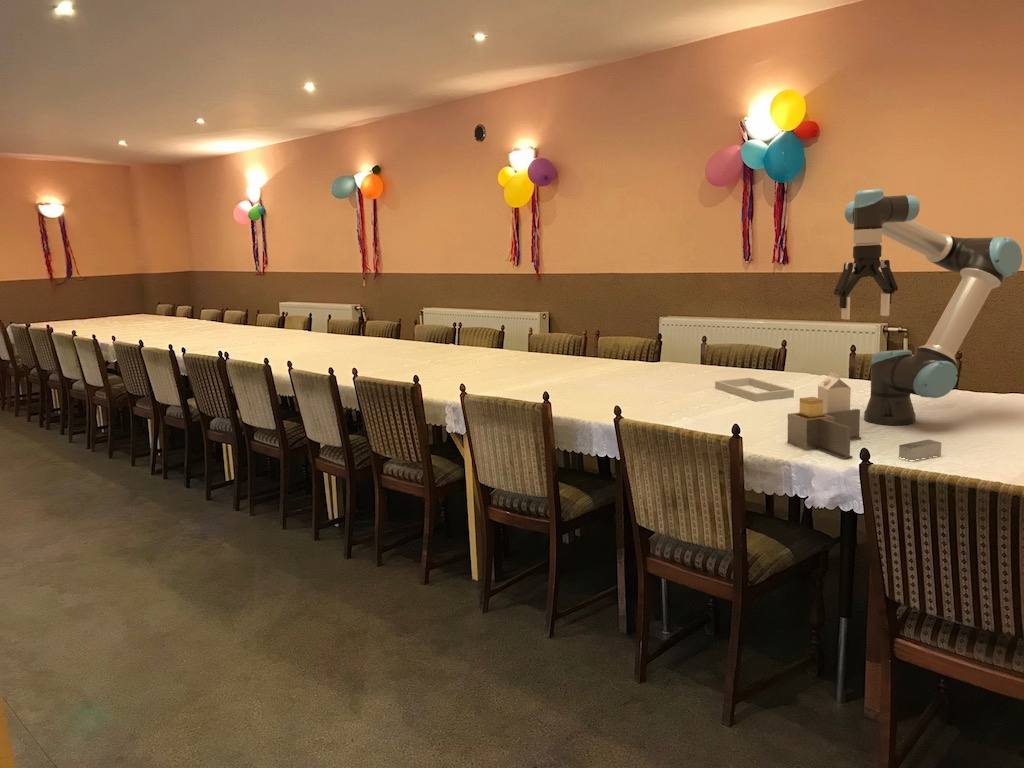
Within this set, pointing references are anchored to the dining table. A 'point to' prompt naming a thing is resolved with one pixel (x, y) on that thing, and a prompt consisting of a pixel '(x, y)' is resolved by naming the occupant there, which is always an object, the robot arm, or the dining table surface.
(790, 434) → the brown box with panels
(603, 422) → the dining table surface
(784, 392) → the parts tray frame
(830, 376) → the milk carton
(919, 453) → the bar
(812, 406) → the tall golden block
